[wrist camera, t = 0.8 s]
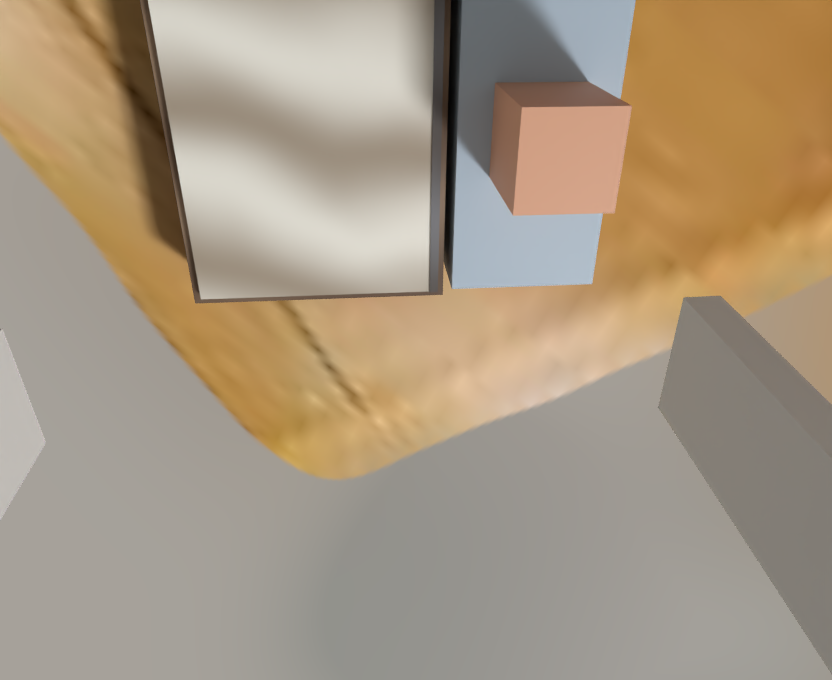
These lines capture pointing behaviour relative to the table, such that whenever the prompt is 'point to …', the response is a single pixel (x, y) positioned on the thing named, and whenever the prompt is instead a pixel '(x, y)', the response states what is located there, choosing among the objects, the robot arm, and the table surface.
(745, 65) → the table surface
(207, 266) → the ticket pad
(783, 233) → the table surface
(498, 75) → the blue base with cube
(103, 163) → the table surface
